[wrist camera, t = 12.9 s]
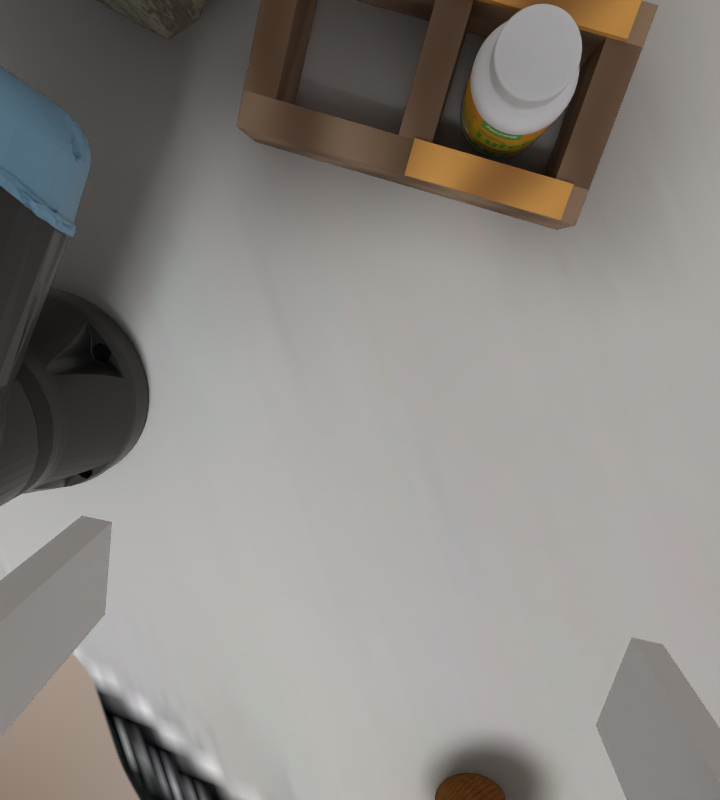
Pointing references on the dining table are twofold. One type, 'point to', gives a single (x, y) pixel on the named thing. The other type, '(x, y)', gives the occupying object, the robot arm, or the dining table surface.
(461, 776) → the disposable coffee cup
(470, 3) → the rack
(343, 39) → the dining table surface
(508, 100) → the supplement bottle
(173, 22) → the tabletop clock
